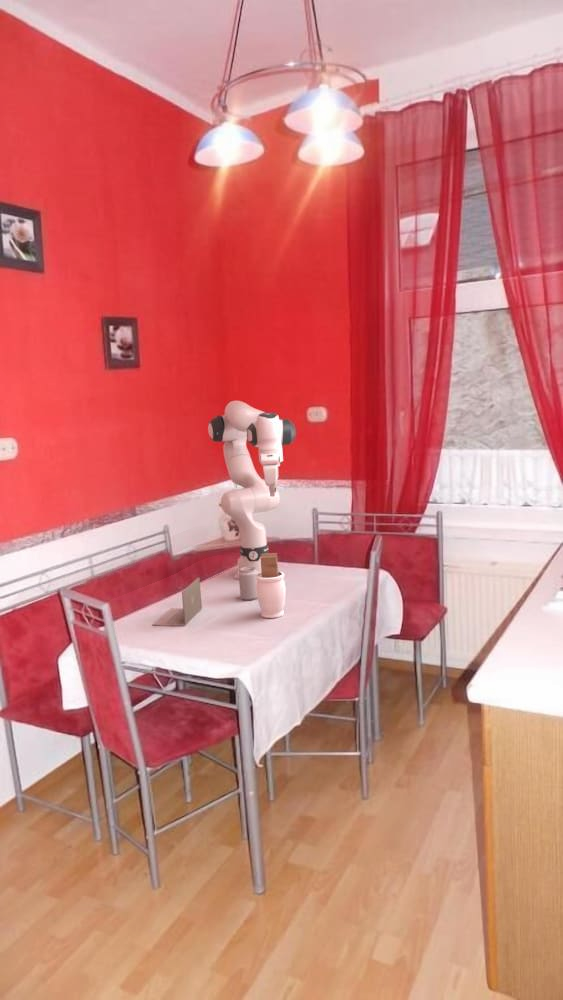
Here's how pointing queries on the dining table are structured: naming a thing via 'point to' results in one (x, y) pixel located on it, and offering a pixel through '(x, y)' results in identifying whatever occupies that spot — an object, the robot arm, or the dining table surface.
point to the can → (248, 583)
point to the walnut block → (269, 565)
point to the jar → (271, 595)
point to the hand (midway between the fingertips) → (273, 494)
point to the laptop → (184, 607)
